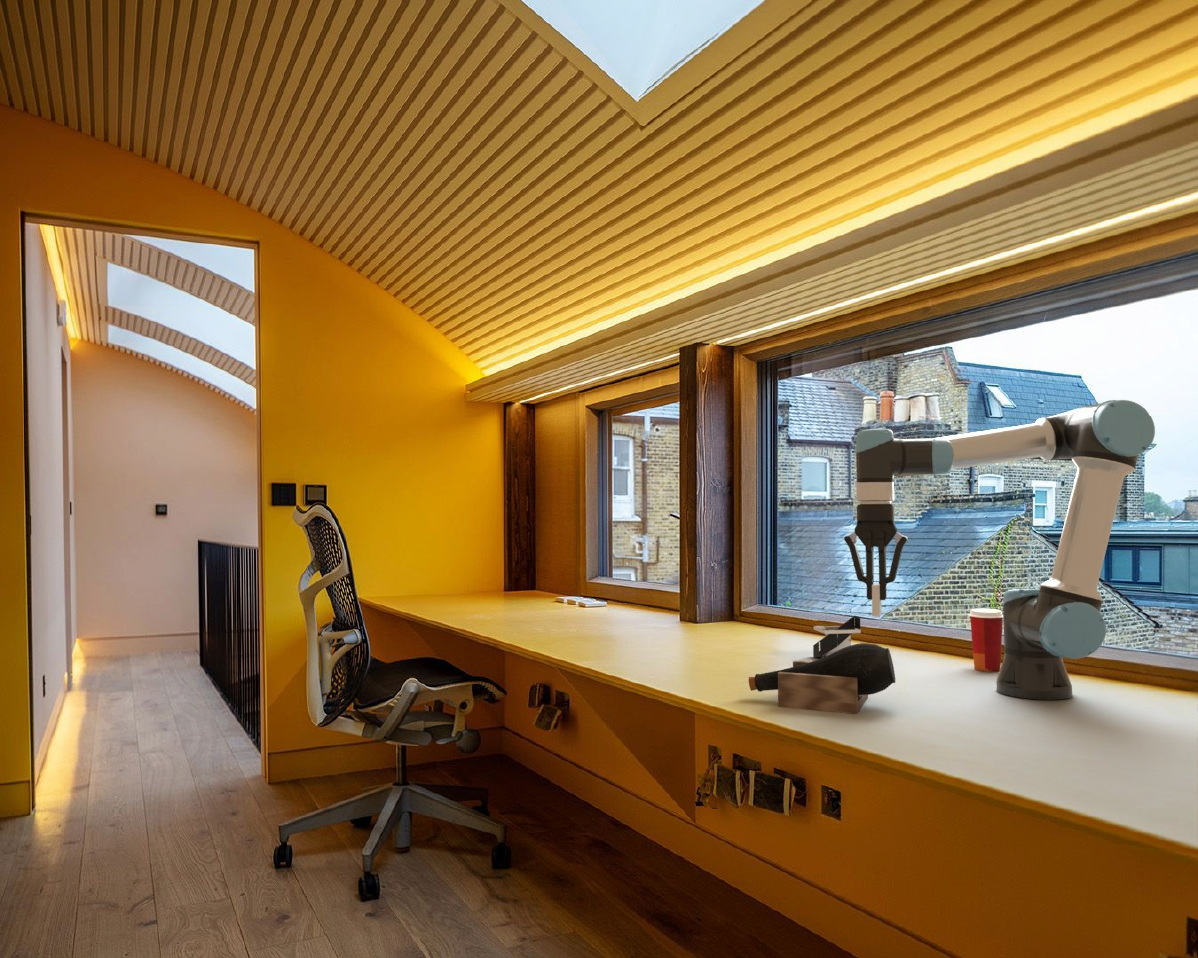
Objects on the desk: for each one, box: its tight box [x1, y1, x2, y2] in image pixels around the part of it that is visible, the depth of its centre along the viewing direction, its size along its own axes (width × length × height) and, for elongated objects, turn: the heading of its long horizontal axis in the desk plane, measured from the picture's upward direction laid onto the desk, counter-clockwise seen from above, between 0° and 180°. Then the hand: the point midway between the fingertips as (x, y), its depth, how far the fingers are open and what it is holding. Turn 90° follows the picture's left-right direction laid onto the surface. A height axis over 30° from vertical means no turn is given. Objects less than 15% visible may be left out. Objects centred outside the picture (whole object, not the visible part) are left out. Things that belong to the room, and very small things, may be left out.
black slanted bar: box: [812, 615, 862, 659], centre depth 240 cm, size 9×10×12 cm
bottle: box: [748, 642, 896, 696], centre depth 188 cm, size 11×11×30 cm
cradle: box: [777, 660, 869, 715], centre depth 189 cm, size 16×16×7 cm
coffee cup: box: [967, 608, 1004, 673], centre depth 224 cm, size 8×8×15 cm
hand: (876, 615), depth 184 cm, fingers closed
